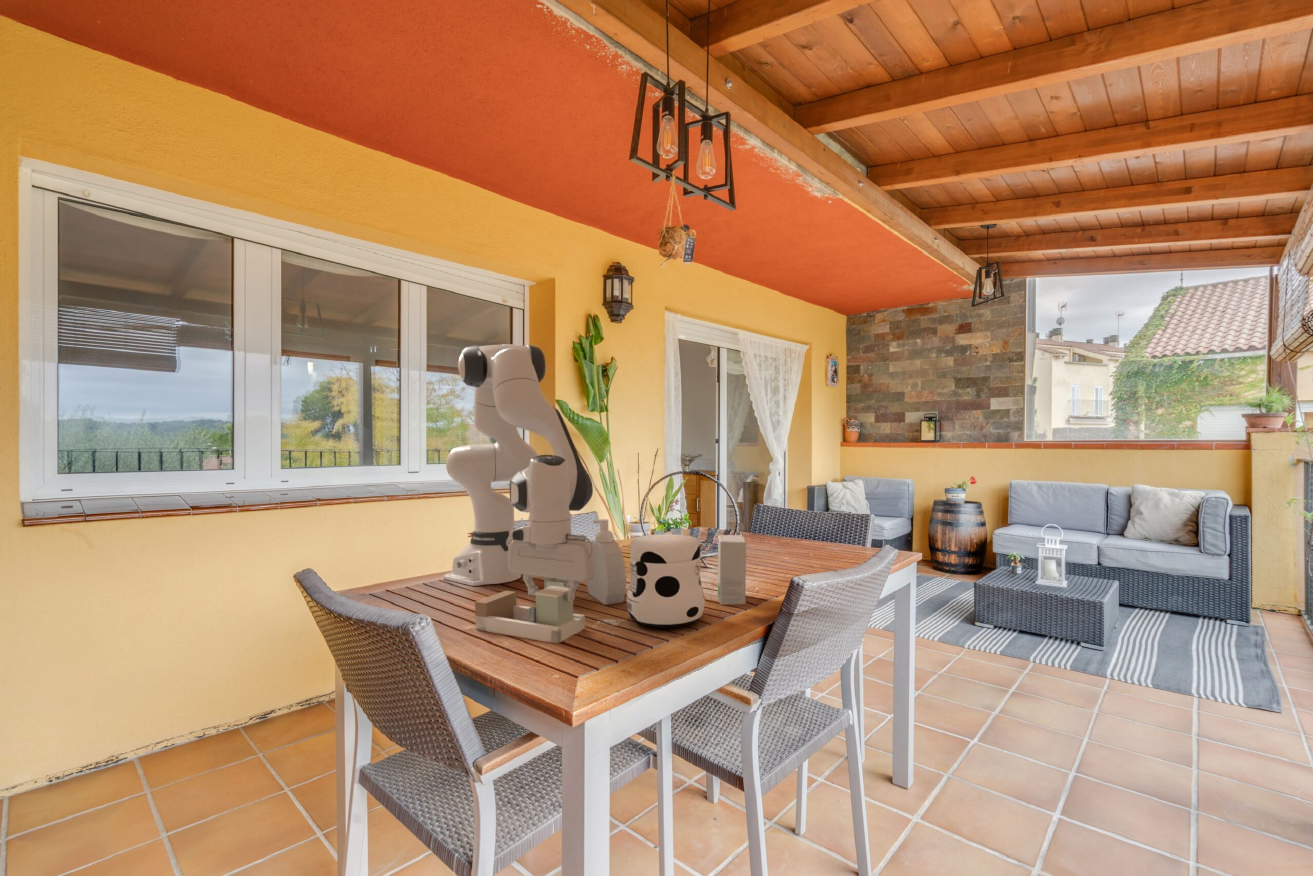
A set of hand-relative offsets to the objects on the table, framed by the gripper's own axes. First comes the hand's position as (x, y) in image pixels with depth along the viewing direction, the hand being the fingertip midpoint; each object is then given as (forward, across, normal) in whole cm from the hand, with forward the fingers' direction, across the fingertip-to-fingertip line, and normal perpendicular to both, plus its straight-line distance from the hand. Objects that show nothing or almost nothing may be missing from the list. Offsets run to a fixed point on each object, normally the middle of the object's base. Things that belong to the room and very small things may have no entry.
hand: (551, 597), depth 129 cm
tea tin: (+7, -1, 0) cm, 7 cm away
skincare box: (+8, -27, -38) cm, 47 cm away
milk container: (+8, -19, -17) cm, 26 cm away
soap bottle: (+8, +3, -27) cm, 28 cm away
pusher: (+7, +4, 0) cm, 8 cm away
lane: (+7, +6, 0) cm, 9 cm away
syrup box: (+8, +13, -21) cm, 26 cm away
